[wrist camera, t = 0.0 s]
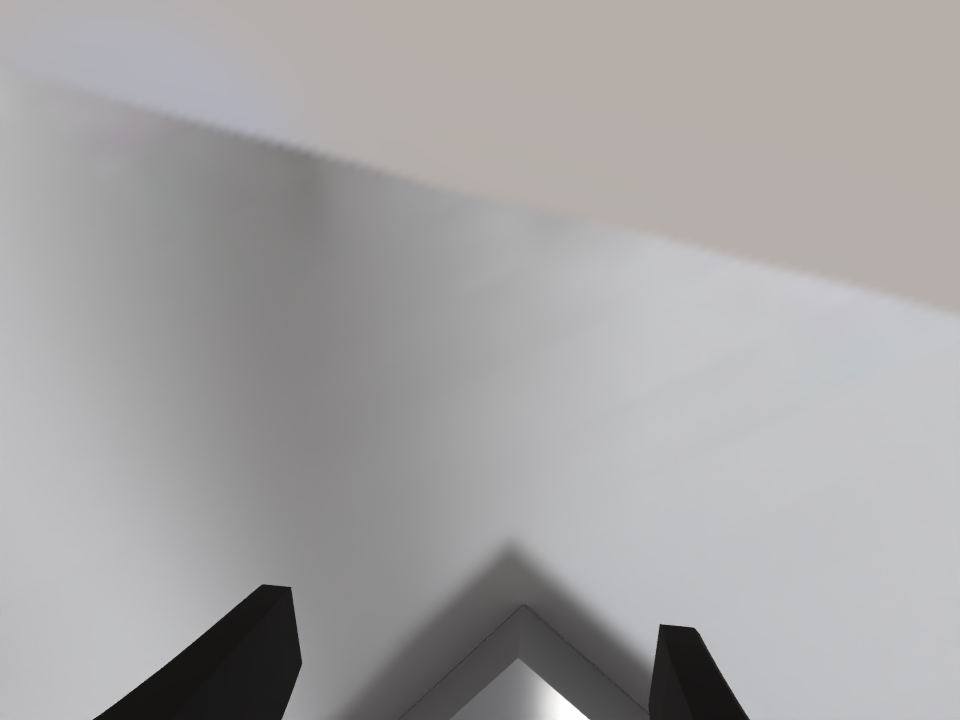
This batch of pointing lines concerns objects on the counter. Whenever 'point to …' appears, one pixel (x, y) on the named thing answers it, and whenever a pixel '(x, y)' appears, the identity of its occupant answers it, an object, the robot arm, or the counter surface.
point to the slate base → (525, 681)
